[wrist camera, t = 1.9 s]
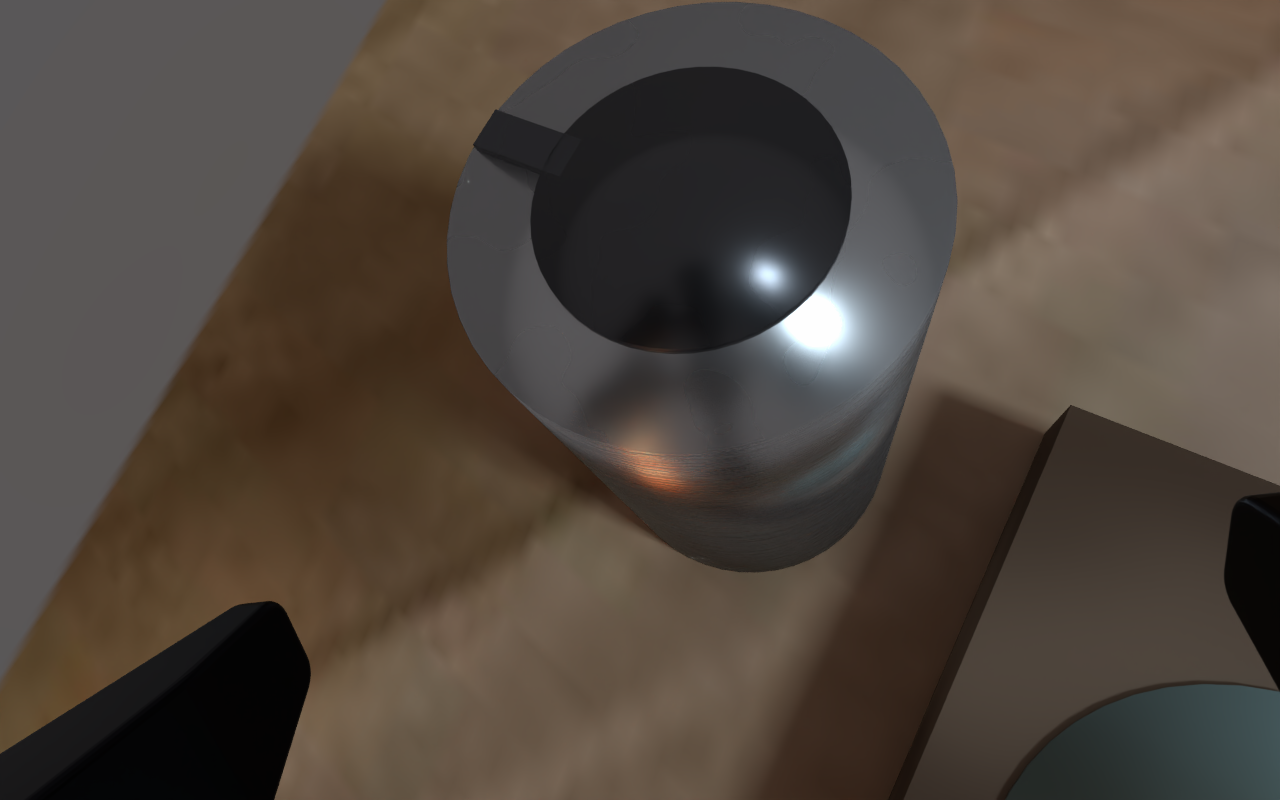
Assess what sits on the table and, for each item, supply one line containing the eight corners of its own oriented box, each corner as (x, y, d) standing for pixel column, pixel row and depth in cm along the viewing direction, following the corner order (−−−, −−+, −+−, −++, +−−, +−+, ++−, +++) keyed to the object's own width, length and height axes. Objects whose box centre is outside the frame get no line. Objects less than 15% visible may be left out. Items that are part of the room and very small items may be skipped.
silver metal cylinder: (814, 622, 18) (814, 548, 8) (575, 498, 20) (350, 322, 11) (928, 378, 20) (1044, 67, 10) (692, 284, 22) (592, -52, 12)
